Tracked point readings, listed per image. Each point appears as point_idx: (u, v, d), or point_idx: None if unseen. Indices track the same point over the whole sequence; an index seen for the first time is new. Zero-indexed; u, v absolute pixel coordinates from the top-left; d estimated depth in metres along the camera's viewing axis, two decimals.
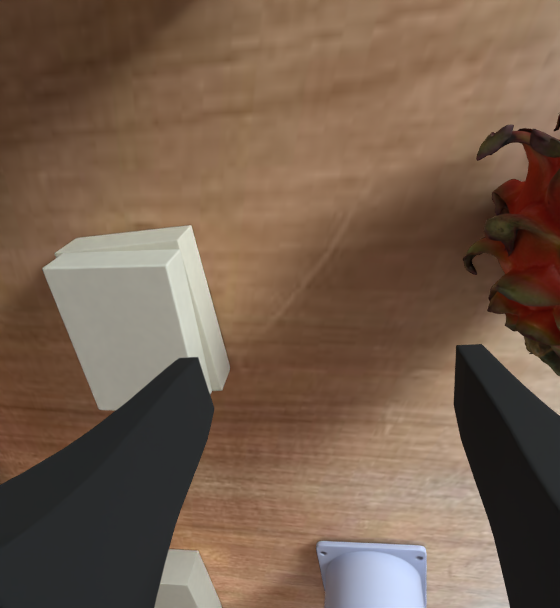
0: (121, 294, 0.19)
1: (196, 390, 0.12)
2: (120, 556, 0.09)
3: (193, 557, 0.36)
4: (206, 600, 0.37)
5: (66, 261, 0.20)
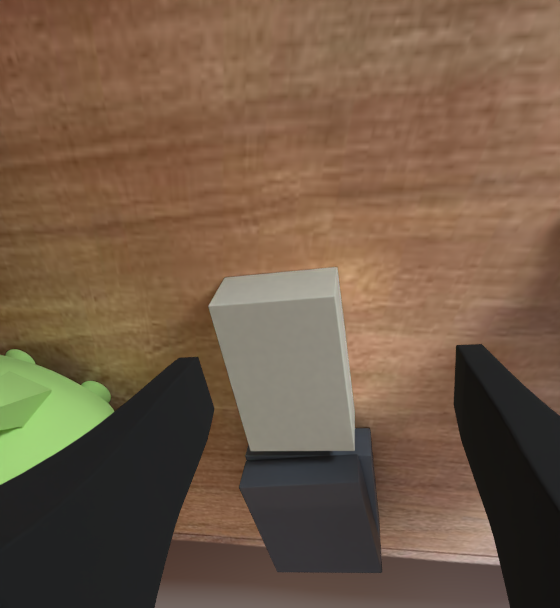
0: None
1: (196, 390, 0.12)
2: (120, 556, 0.09)
3: (331, 272, 0.19)
4: (347, 370, 0.21)
5: None
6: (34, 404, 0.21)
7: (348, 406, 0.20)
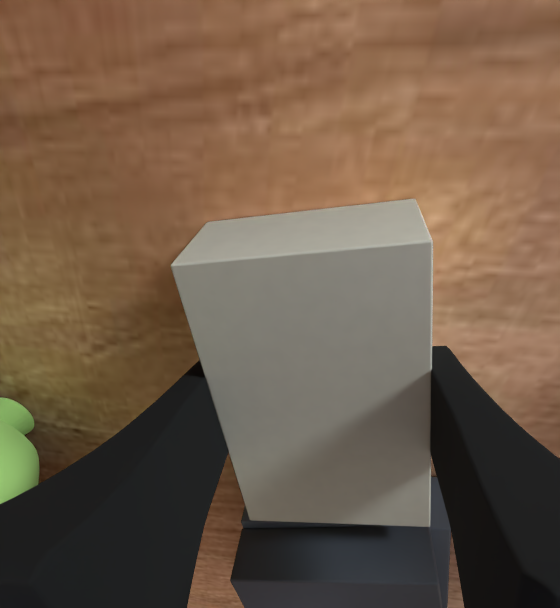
0: None
1: None
2: (155, 558, 0.08)
3: (408, 206, 0.10)
4: None
5: None
6: None
7: (429, 455, 0.11)
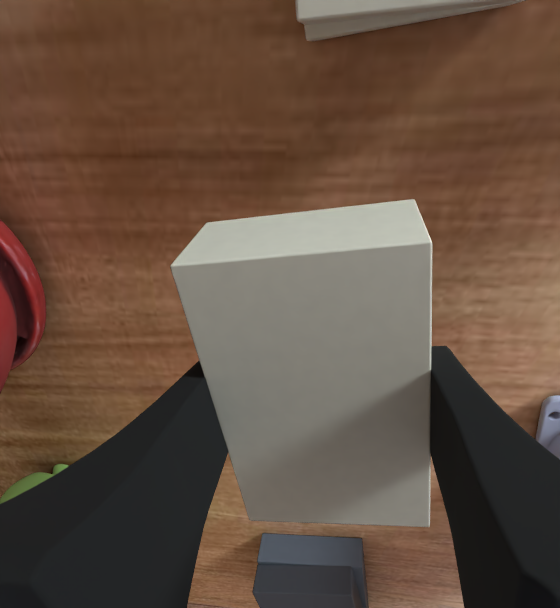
0: None
1: None
2: (155, 558, 0.08)
3: (408, 207, 0.10)
4: None
5: None
6: None
7: (429, 456, 0.11)
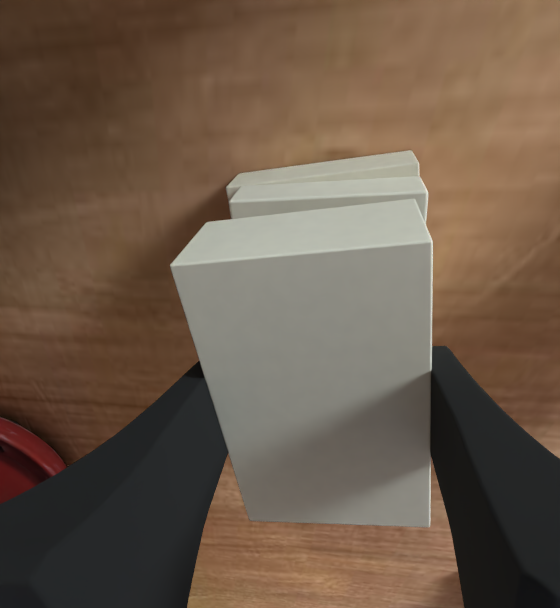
0: None
1: None
2: (155, 558, 0.08)
3: (408, 206, 0.10)
4: None
5: (258, 193, 0.14)
6: None
7: (429, 456, 0.11)
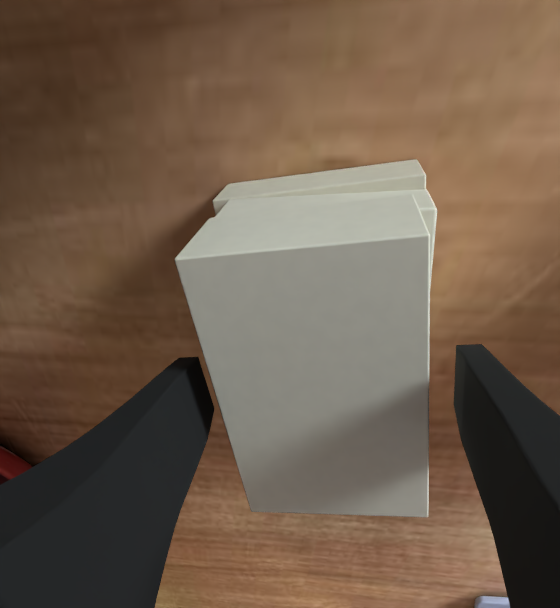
0: None
1: (196, 390, 0.12)
2: (120, 556, 0.09)
3: (407, 202, 0.10)
4: None
5: (247, 208, 0.12)
6: None
7: (427, 446, 0.12)
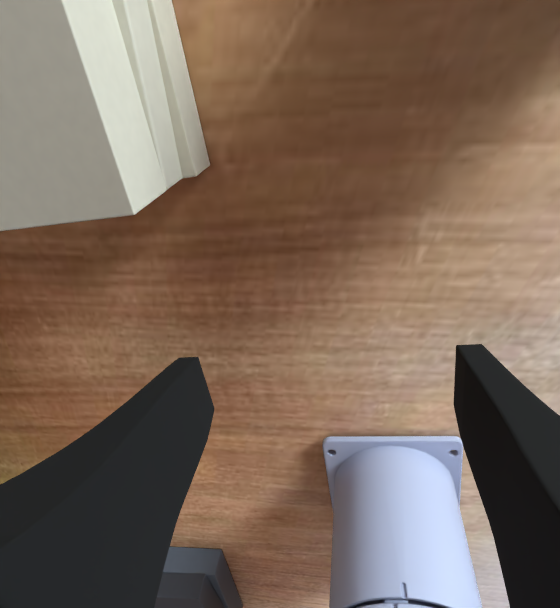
0: None
1: (196, 390, 0.12)
2: (120, 556, 0.09)
3: None
4: (108, 64, 0.13)
5: None
6: None
7: (101, 114, 0.12)
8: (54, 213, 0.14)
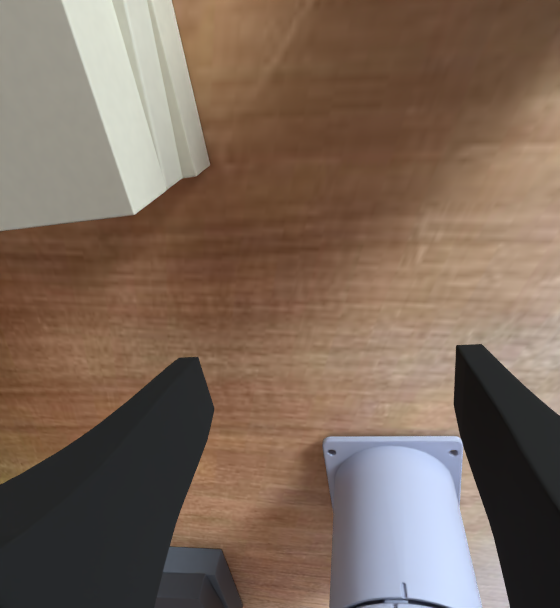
0: None
1: (196, 390, 0.12)
2: (120, 556, 0.09)
3: None
4: (108, 64, 0.13)
5: None
6: None
7: (101, 114, 0.12)
8: (54, 213, 0.14)
